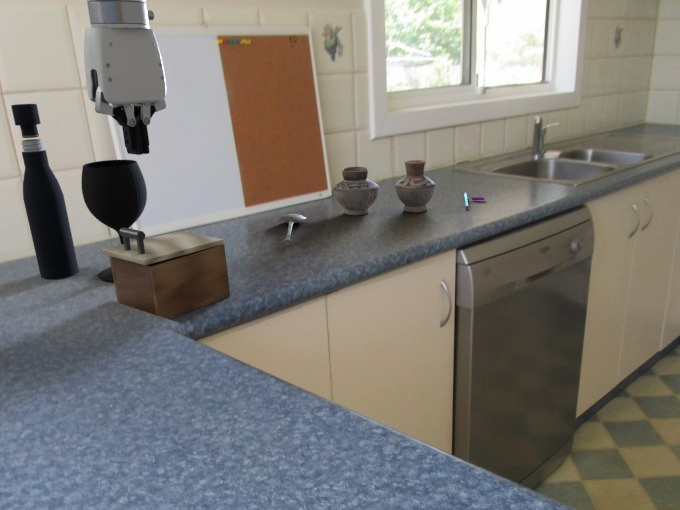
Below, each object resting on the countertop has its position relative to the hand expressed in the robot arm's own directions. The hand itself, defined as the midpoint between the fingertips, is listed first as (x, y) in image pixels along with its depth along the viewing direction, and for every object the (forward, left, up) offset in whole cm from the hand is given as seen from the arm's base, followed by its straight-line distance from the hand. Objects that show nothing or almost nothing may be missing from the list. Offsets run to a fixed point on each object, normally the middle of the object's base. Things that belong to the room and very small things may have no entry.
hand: (138, 153), depth 97 cm
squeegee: (+7, +90, -24) cm, 93 cm away
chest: (+1, +2, -24) cm, 24 cm away
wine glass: (-19, +7, -24) cm, 32 cm away
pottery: (-7, +70, -24) cm, 74 cm away
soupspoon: (-13, +43, -24) cm, 51 cm away
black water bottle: (-30, 0, -24) cm, 39 cm away
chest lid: (+1, +2, -15) cm, 15 cm away
